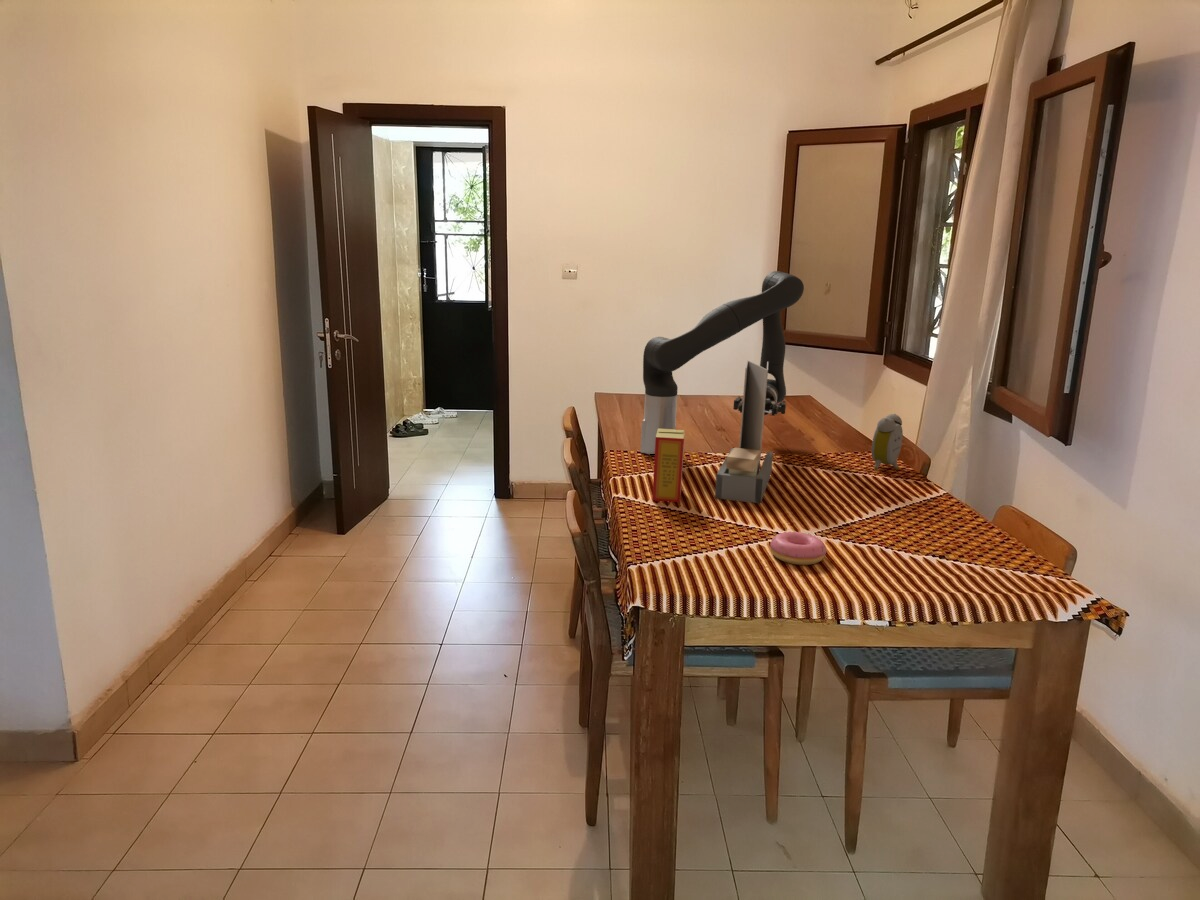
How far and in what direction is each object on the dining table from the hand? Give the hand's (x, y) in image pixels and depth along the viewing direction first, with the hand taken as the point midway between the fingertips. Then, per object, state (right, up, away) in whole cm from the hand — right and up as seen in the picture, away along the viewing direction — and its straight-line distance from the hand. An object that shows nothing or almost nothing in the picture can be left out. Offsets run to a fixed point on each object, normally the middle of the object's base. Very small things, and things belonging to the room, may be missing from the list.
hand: (757, 410), depth 222 cm
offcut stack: (-8, -21, -19) cm, 30 cm away
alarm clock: (+38, -16, +7) cm, 42 cm away
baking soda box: (-26, -22, -23) cm, 42 cm away
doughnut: (-3, -32, -59) cm, 67 cm away
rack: (-6, -20, -13) cm, 24 cm away
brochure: (-4, -18, -6) cm, 19 cm away
